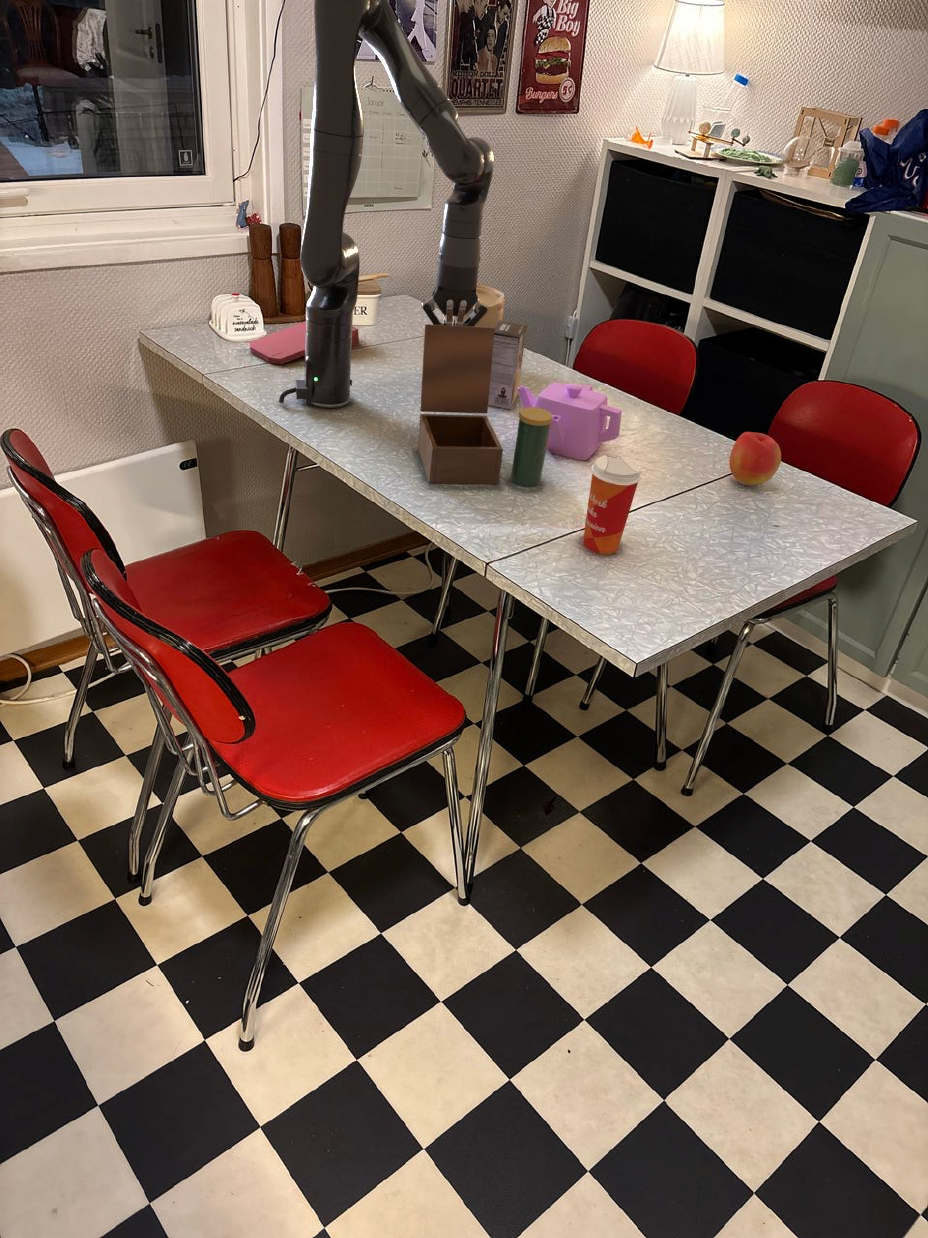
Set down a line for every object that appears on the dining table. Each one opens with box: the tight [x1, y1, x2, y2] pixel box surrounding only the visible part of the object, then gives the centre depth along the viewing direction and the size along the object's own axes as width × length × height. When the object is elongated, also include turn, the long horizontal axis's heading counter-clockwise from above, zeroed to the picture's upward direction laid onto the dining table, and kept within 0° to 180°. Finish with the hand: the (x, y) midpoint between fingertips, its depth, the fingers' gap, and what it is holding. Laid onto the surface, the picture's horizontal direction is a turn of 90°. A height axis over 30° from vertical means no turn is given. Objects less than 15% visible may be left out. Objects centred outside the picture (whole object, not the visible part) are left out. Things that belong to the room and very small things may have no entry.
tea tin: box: [510, 407, 553, 488], centre depth 172 cm, size 6×6×14 cm
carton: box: [249, 320, 360, 365], centre depth 221 cm, size 12×5×25 cm
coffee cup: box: [582, 454, 643, 555], centre depth 156 cm, size 8×8×15 cm
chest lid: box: [419, 323, 495, 414], centre depth 176 cm, size 16×13×1 cm
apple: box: [728, 431, 782, 487], centre depth 184 cm, size 10×10×10 cm
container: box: [452, 284, 505, 328], centre depth 216 cm, size 13×13×18 cm
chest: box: [417, 413, 504, 486], centre depth 176 cm, size 15×13×8 cm
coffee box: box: [488, 320, 528, 410], centre depth 204 cm, size 9×6×16 cm
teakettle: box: [517, 381, 623, 461], centre depth 190 cm, size 17×17×12 cm
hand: (449, 352), depth 182 cm, fingers closed
